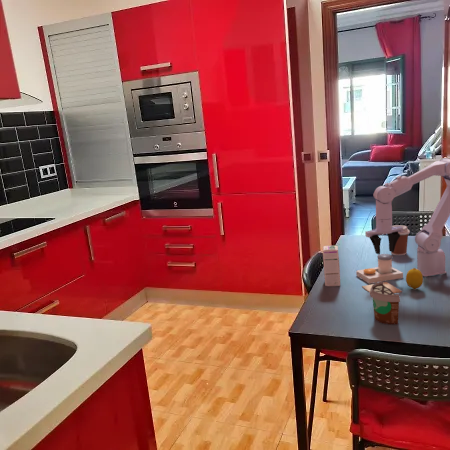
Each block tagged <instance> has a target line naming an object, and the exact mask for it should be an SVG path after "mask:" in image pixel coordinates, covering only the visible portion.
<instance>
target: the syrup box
mask: <svg viewBox="0 0 450 450" xmlns="http://www.w3.org/2000/svg"><path fill="white" fill-rule="evenodd" d="M322 258H323V261H322V262H323V272H324V273H323V275H324V286H325V287H340V286H341V270H340V267H341V266H340V257H339V246H338V245H335V244H334V245H324V246H322Z"/></svg>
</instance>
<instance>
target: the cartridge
mask: <svg viewBox="0 0 450 450" xmlns="http://www.w3.org/2000/svg"><path fill="white" fill-rule="evenodd" d="M377 267H378V273H380V274H382V275H383V274H388V273H392V267H393V254H391V253H390V254H388V253H380V254H377Z"/></svg>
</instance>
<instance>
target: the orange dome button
mask: <svg viewBox="0 0 450 450" xmlns="http://www.w3.org/2000/svg"><path fill="white" fill-rule="evenodd" d="M375 272H376V270H375V269H369V268H364V273H366V275H374V273H375Z"/></svg>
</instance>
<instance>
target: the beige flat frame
mask: <svg viewBox="0 0 450 450" xmlns="http://www.w3.org/2000/svg"><path fill="white" fill-rule="evenodd" d="M364 269H365V268H364ZM364 269H359V270H356V272H355V273H356V277H358V278H360V279H361V280H363V281H364V282H366V283H367V284H368V285H371V284H375V283H378V282H388V281H393V280H397V279H404V272H402V271H401V270H399V269H397V268H395V267H393V266H392V273H388V274H383V275H382V274H380V273H378V266H377V267H376V266H375V267H370V268H368V269H375V270H376V272H375V273H374V275H366V273H364Z"/></svg>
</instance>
